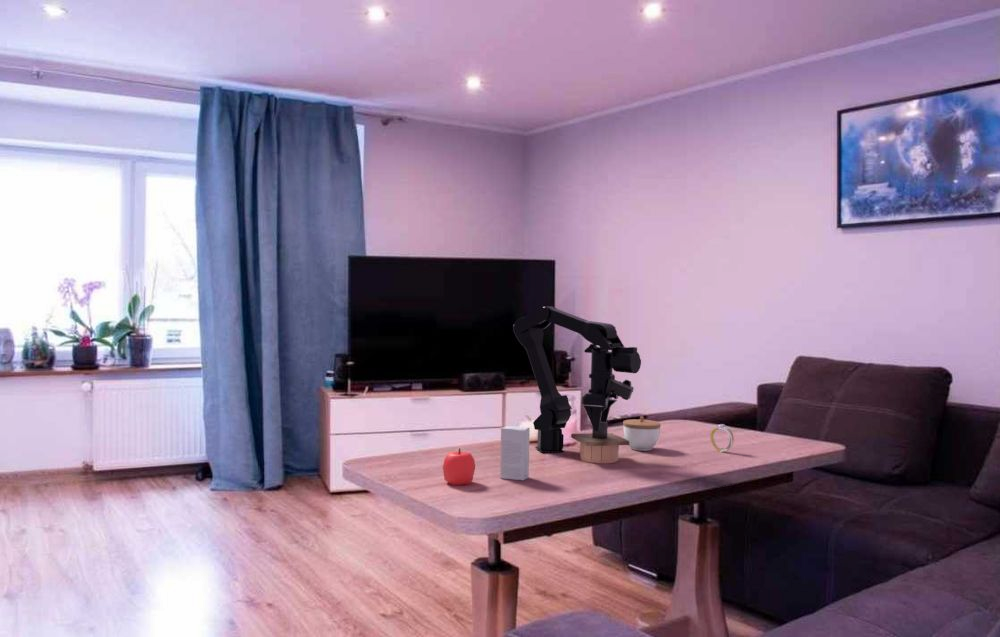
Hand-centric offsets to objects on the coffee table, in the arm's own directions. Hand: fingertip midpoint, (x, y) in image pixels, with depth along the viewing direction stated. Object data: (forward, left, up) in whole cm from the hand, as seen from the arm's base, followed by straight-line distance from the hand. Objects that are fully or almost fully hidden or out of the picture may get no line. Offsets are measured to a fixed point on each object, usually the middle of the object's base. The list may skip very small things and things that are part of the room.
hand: (599, 428), depth 199 cm
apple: (-42, -20, -9) cm, 47 cm away
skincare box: (-28, -17, -9) cm, 34 cm away
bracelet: (+40, +6, -9) cm, 41 cm away
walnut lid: (0, 0, -4) cm, 4 cm away
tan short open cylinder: (0, 0, -8) cm, 8 cm away
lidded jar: (+18, +13, -9) cm, 24 cm away
